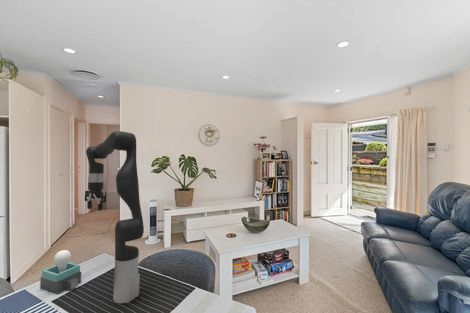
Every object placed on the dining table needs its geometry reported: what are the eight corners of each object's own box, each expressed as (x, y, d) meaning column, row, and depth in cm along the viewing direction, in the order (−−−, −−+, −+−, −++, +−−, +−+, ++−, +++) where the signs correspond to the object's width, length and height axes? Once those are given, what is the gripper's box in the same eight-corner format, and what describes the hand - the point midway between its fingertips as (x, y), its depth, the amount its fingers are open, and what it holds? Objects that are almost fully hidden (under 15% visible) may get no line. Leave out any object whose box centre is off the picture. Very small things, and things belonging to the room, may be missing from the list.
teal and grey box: (85, 283, 101) (85, 266, 101) (61, 296, 92) (62, 277, 92) (64, 277, 106) (64, 260, 107) (40, 288, 97) (40, 270, 97)
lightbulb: (63, 277, 97) (64, 253, 97) (50, 277, 97) (50, 253, 97) (73, 270, 103) (74, 247, 103) (61, 270, 103) (61, 247, 103)
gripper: (110, 181, 124) (109, 209, 124) (93, 180, 129) (92, 207, 129) (98, 182, 117) (97, 212, 117) (80, 181, 122) (79, 209, 122)
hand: (94, 209), depth 123 cm, fingers open, 8 cm apart
